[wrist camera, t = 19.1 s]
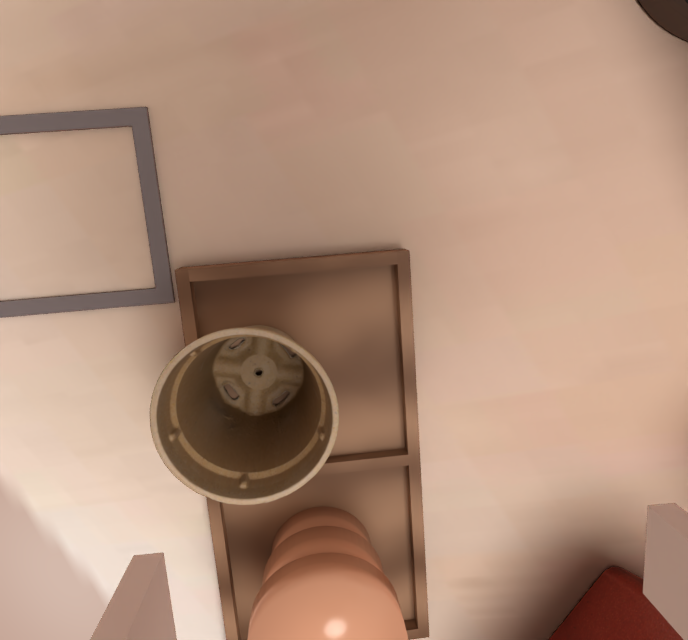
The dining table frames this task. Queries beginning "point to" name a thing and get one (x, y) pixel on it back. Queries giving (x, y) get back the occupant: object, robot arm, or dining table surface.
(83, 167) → the dining table surface
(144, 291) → the square
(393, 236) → the dining table surface
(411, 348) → the brown divided tray
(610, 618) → the plant pot
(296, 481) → the flower pot
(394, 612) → the stacked pebble cairn
